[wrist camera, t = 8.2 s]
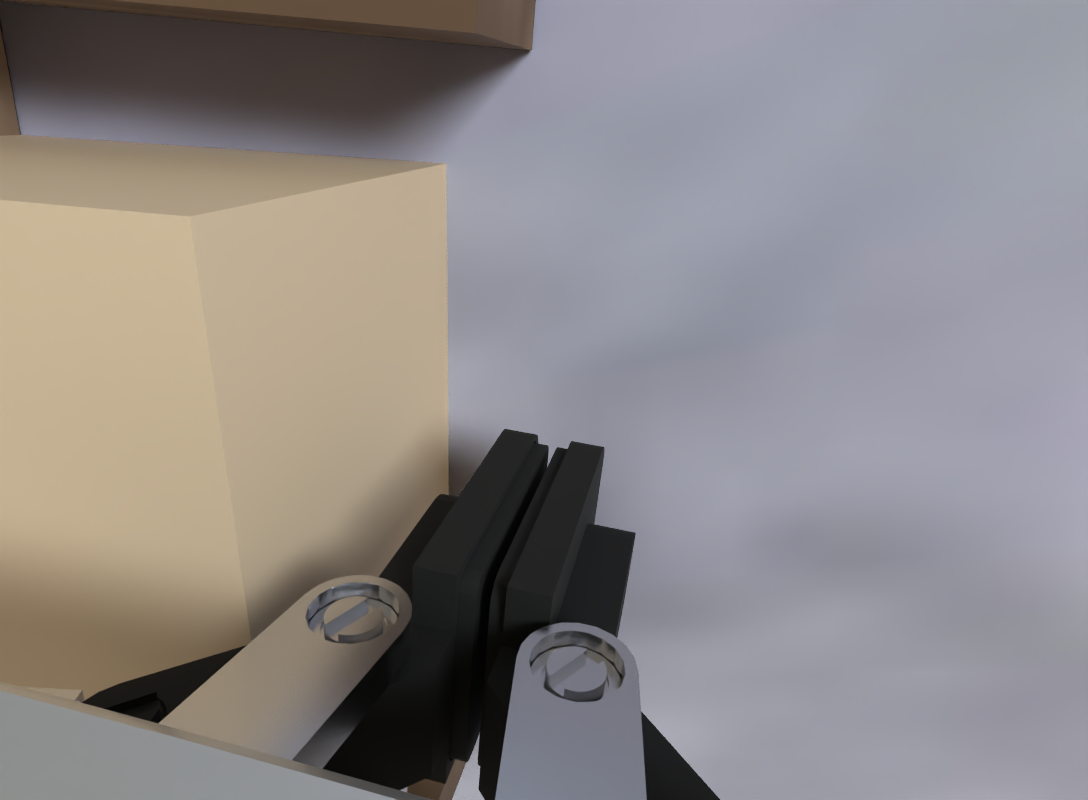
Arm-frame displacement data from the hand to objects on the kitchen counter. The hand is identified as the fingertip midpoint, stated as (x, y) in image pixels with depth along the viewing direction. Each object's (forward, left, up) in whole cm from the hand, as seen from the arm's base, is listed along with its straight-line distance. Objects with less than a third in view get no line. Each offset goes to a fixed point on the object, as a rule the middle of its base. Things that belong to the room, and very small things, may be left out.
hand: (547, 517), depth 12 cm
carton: (0, -7, -3) cm, 8 cm away
